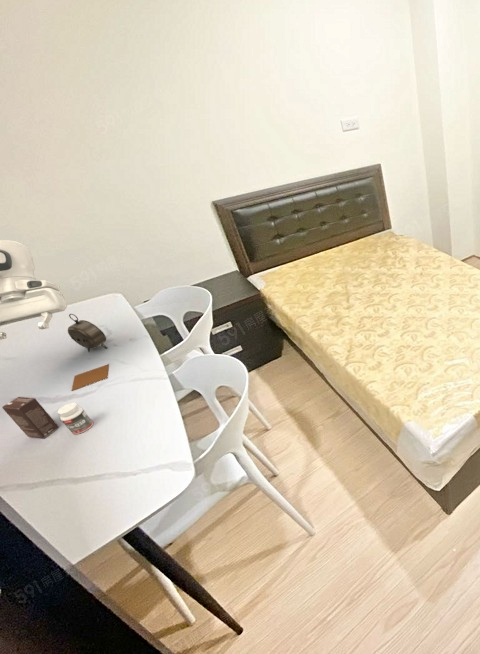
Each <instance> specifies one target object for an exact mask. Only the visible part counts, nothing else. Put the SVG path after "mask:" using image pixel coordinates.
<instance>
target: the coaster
mask: <svg viewBox="0 0 480 654" xmlns="http://www.w3.org/2000/svg"><path fill="white" fill-rule="evenodd" d="M109 366H110V364H109V363H106V364H103V365H101V366H98V367H96V368H93V369H90V370H87V371H84V372H81V373H78V374H76V375H74V376H73V382H72V387H71V391H77V390H78V389H81V388H84V387H86V385H87V386H90V385H93V384H95V383H98V382H101V381H104V380H106V379H108V377H107V376H109ZM105 378H106V379H105ZM103 379H104V380H103ZM100 380H101V381H100ZM97 381H98V382H97ZM94 382H95V383H94ZM89 384H90V385H89Z"/></svg>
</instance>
